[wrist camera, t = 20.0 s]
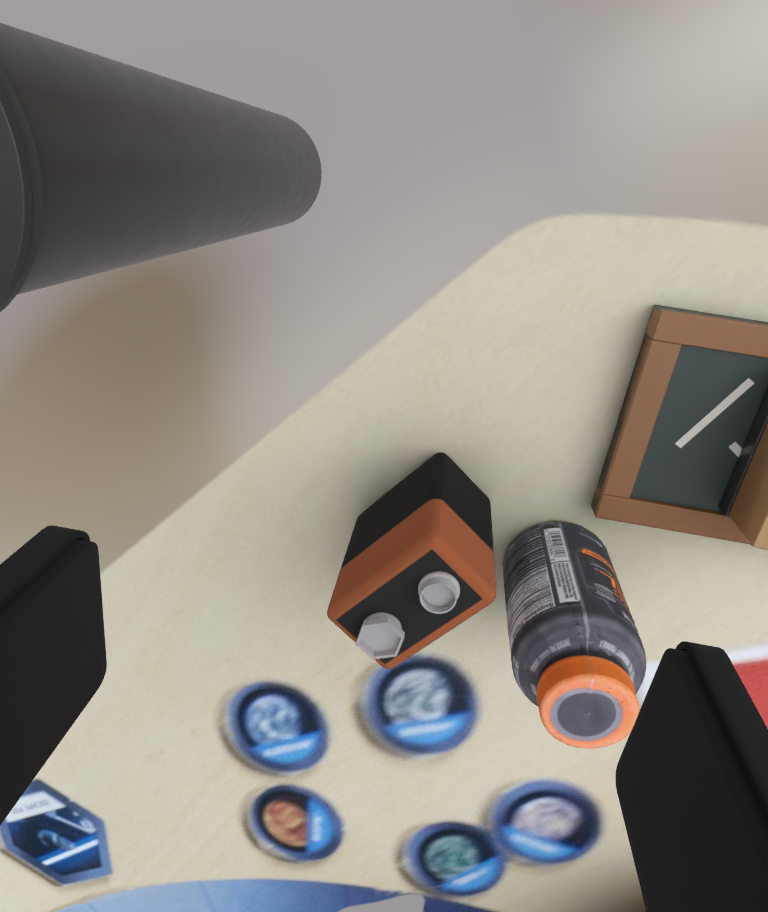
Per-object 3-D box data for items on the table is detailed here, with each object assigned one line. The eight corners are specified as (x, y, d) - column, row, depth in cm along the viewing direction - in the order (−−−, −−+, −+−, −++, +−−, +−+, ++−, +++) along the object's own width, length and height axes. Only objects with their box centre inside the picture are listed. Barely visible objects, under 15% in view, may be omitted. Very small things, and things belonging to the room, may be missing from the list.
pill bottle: (623, 586, 36) (685, 750, 26) (525, 617, 38) (547, 783, 27) (586, 502, 34) (637, 642, 24) (485, 539, 36) (492, 685, 25)
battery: (354, 516, 36) (315, 630, 27) (441, 445, 34) (432, 544, 25) (405, 565, 37) (384, 691, 28) (494, 500, 35) (503, 614, 26)
